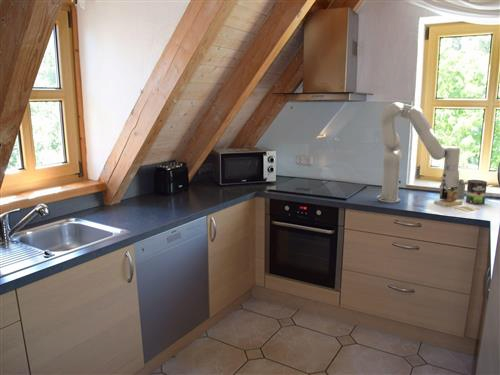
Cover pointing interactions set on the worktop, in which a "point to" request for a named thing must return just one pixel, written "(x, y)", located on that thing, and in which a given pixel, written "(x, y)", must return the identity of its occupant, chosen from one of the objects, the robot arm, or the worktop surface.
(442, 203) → the block
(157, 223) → the worktop surface
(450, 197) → the crate
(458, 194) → the cup
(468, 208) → the pallet
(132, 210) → the worktop surface
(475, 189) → the coffee can
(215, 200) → the worktop surface
